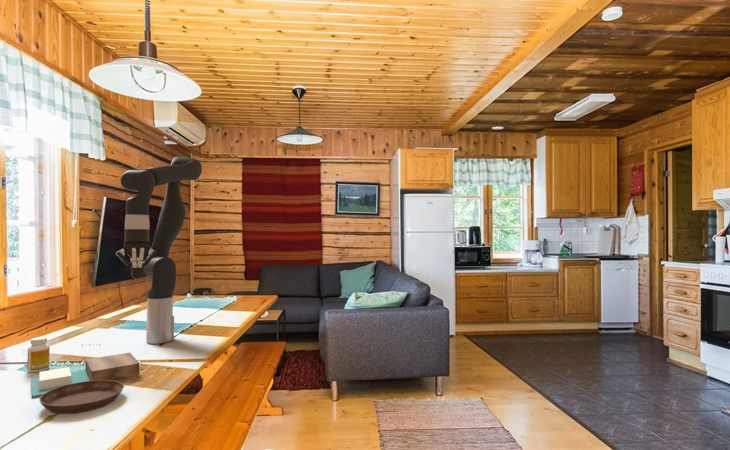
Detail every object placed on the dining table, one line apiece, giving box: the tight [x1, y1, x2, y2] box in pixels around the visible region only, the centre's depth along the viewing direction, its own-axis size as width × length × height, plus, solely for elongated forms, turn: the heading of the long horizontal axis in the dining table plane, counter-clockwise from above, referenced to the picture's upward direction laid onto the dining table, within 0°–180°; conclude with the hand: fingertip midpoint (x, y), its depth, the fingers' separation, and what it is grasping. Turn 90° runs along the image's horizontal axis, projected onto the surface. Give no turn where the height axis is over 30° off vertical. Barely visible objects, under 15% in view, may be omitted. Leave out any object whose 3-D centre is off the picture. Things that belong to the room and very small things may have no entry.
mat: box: [30, 369, 90, 399], centre depth 118 cm, size 13×16×1 cm
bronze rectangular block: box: [84, 352, 140, 382], centre depth 126 cm, size 12×14×4 cm
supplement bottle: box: [26, 336, 51, 373], centre depth 130 cm, size 5×5×10 cm
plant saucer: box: [39, 380, 125, 415], centre depth 106 cm, size 18×18×3 cm
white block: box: [38, 367, 72, 390], centre depth 118 cm, size 7×9×2 cm
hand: (136, 278), depth 144 cm, fingers closed
